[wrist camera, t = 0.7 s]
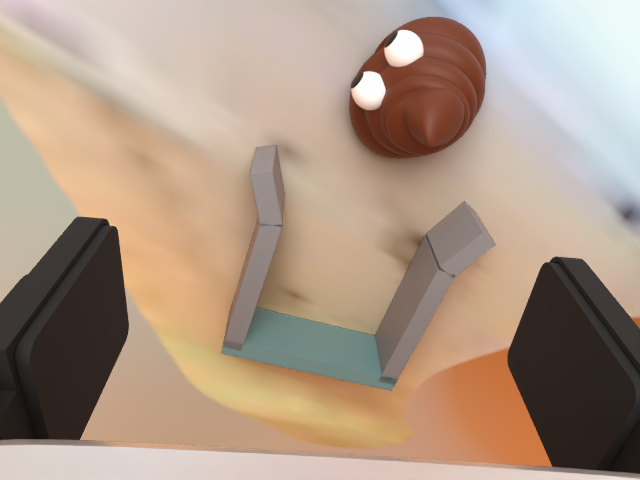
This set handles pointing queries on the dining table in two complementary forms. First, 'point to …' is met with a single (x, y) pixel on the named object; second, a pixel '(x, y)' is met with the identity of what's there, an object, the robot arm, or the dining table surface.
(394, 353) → the grey tray
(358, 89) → the poop emoji
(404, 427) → the dining table surface
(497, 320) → the dining table surface
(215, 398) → the dining table surface
